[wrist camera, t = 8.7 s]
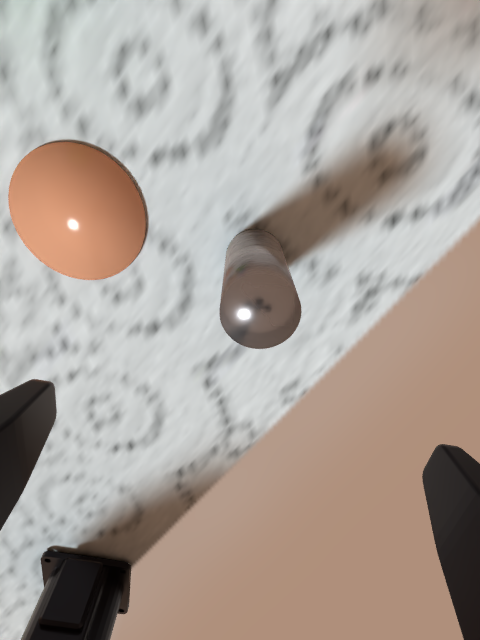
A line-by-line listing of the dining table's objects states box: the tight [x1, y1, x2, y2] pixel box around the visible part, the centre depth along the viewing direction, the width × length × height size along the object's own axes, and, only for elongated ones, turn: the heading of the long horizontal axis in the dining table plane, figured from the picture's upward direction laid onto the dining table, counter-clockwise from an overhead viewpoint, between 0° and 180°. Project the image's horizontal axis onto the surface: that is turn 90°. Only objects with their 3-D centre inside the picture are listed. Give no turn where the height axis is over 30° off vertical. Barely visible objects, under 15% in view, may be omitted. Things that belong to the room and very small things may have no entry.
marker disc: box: [8, 142, 146, 280], centre depth 18 cm, size 6×6×1 cm
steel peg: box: [220, 229, 301, 349], centre depth 16 cm, size 3×3×6 cm
